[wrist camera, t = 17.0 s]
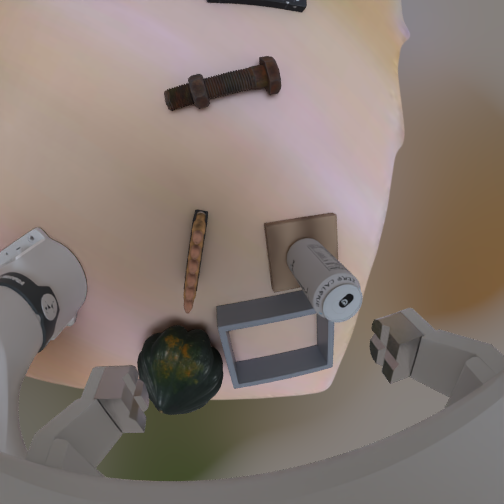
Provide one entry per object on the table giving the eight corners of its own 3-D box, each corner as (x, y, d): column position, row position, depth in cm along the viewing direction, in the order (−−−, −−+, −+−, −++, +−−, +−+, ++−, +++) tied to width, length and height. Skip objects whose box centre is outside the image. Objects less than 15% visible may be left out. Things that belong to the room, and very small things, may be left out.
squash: (249, 346, 44) (181, 391, 31) (227, 401, 49) (171, 443, 37) (186, 302, 50) (117, 327, 38) (175, 359, 55) (117, 388, 43)
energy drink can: (277, 255, 43) (306, 306, 29) (306, 228, 42) (350, 268, 28) (301, 279, 45) (336, 335, 31) (329, 254, 44) (375, 301, 31)
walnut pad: (272, 288, 47) (274, 292, 45) (264, 223, 43) (265, 226, 41) (334, 275, 48) (338, 279, 46) (332, 212, 44) (336, 215, 42)
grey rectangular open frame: (231, 366, 52) (234, 388, 46) (216, 306, 47) (217, 327, 41) (322, 347, 53) (332, 367, 48) (321, 286, 48) (334, 303, 42)
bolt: (170, 100, 36) (269, 75, 36) (174, 125, 36) (280, 99, 36) (158, 75, 31) (270, 48, 31) (162, 101, 30) (282, 72, 30)
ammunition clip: (197, 277, 45) (194, 320, 33) (186, 276, 44) (179, 318, 33) (208, 211, 41) (206, 235, 30) (195, 209, 41) (189, 233, 30)
